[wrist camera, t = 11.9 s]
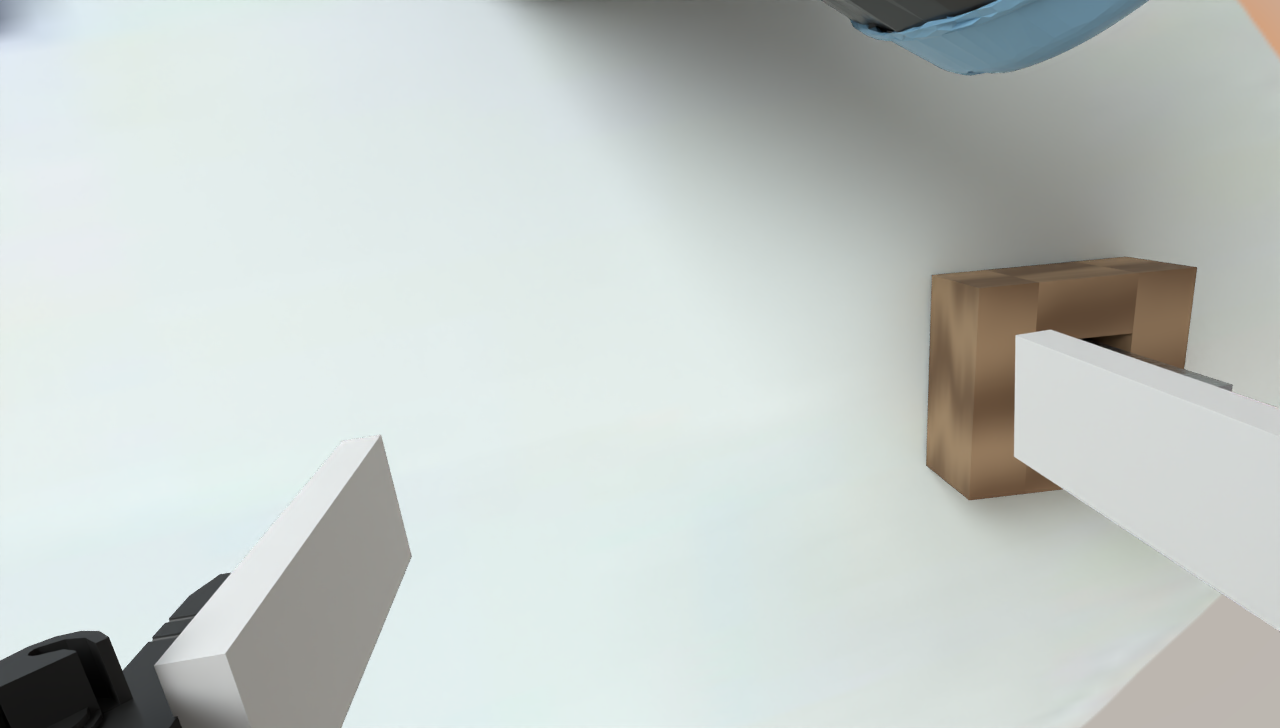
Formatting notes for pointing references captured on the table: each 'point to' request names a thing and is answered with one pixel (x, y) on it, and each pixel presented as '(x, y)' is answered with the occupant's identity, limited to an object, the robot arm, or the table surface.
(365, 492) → the robot arm
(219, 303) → the table surface
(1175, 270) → the brown square hole block
